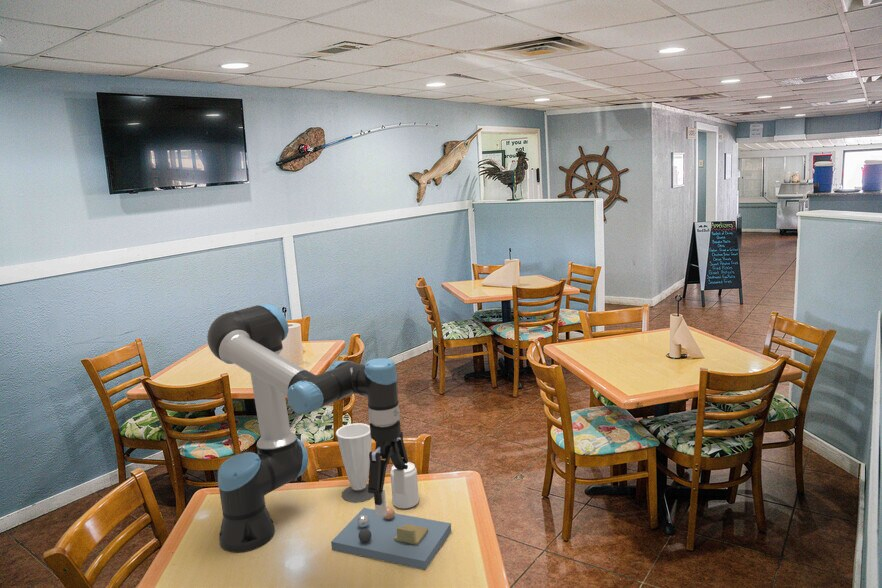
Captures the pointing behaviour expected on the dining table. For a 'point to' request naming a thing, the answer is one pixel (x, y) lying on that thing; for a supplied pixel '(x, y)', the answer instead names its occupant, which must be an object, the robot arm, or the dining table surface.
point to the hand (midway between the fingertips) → (391, 503)
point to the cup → (356, 460)
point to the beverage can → (406, 488)
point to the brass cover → (410, 534)
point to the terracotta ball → (389, 513)
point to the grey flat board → (392, 539)
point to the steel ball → (362, 521)
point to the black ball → (364, 535)
